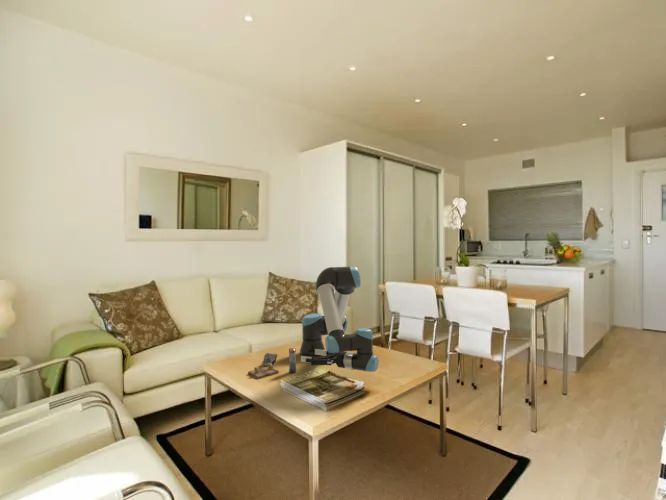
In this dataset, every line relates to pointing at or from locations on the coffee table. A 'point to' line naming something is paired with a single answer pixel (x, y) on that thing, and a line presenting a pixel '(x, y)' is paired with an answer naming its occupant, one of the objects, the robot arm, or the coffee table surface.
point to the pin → (292, 360)
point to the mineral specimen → (269, 359)
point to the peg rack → (263, 371)
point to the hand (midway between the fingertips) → (308, 355)
